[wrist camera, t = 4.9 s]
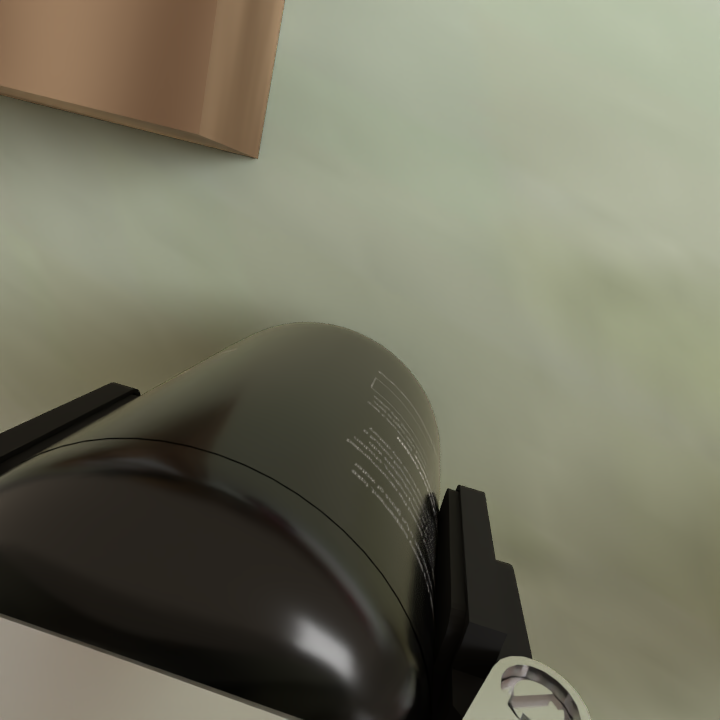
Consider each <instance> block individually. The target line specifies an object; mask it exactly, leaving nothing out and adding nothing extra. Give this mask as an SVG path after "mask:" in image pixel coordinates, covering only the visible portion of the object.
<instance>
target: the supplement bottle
mask: <svg viewBox="0 0 720 720" xmlns="http://www.w3.org/2000/svg"><path fill="white" fill-rule="evenodd" d="M439 498H440V440H439V433H438V427H437V423H436V419H435V415H434V412H433V410H432V407H431V404H430V402H429V400H428V398H427V396H426V394H425V392H424V390H423V388H422V387H421V385H420V384H419V382H418V380H417V379H416V378H415V377H414V375H413V374H412V373H411V371H410V370H409V369H408V368H407V367H406V366H405V365H404V364H403V363H402V361H400V360H399V359H398V358H397V357H396V356H395V355H394V354H393V353H391V352H390V351H389V350H387V349H386V348H385V347H383V346H382V345H380V344H379V343H377V342H375V341H374V340H372V339H370V338H368V337H366V336H364V335H362V334H360V333H358V332H355V331H352V330H350V329H347V328H344V327H340V326H336V325H331V324H325V323H316V322H297V323H289V324H282V325H279V326H275V327H271V328H268V329H265V330H262V331H259V332H257V333H255V334H253V335H251V336H249V337H247V338H245V339H243V340H241V341H239V342H237V343H235V344H233V345H231V346H229V347H227V348H225V349H224V350H222V351H220V352H218V353H216V354H215V355H213V356H211V357H209V358H207V359H206V360H204V361H202V362H200V363H198V364H197V365H195V366H193V367H191V368H189V369H188V370H186V371H184V372H182V373H180V374H179V375H177V376H175V377H173V378H171V379H170V380H168V381H166V382H164V383H162V384H161V385H159V386H157V387H155V388H154V389H152V390H150V391H148V392H146V393H145V394H143V395H141V396H139V397H137V398H136V399H134V400H132V401H130V402H128V403H127V404H125V405H123V406H121V407H119V408H118V409H116V410H114V411H112V412H110V413H109V414H107V415H105V416H103V417H101V418H100V419H98V420H96V421H94V422H92V423H91V424H89V425H87V426H85V427H84V428H82V429H80V430H78V431H76V432H75V433H73V434H71V435H69V436H67V437H66V438H64V439H62V440H60V441H58V442H57V443H55V444H53V445H51V446H50V447H48V448H46V449H44V450H42V451H41V452H39V453H37V454H35V455H33V456H32V457H30V458H28V459H27V460H25V461H23V462H21V463H20V464H18V465H17V466H15V467H14V468H12V469H11V470H9V471H7V472H6V473H4V474H3V475H1V476H0V613H1V614H4V615H7V616H9V617H12V618H15V619H18V620H21V621H24V622H27V623H30V624H33V625H35V626H38V627H41V628H44V629H47V630H50V631H53V632H56V633H58V634H61V635H64V636H67V637H70V638H73V639H76V640H79V641H82V642H84V643H87V644H90V645H93V646H96V647H99V648H102V649H104V650H107V651H110V652H113V653H116V654H119V655H122V656H124V657H127V658H130V659H133V660H136V661H139V662H142V663H145V664H147V665H150V666H153V667H156V668H159V669H162V670H165V671H167V672H170V673H173V674H176V675H179V676H182V677H185V678H187V679H190V680H193V681H196V682H199V683H201V684H204V685H207V686H210V687H213V688H215V689H218V690H221V691H224V692H227V693H230V694H232V695H235V696H238V697H241V698H244V699H246V700H249V701H252V702H255V703H258V704H260V705H263V706H266V707H269V708H272V709H275V710H277V711H280V712H283V713H286V714H289V715H291V716H294V717H297V718H300V719H303V720H431V716H432V698H433V671H434V643H435V614H436V585H437V556H438V527H439Z"/></svg>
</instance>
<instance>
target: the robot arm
mask: <svg viewBox="0 0 720 720" xmlns="http://www.w3.org/2000/svg"><path fill="white" fill-rule="evenodd" d="M139 396H141V395H140V392H139V390H138V389H134V388H131V387H128V386H124V385H121V384H117V383H114V382H113V383H110V384H107V385H105V386H103V387H101V388H99V389H97V390H94V391H92V392H90V393H88V394H86V395H83V396H81V397H79V398H77V399H75V400H73V401H70V402H68V403H66V404H64V405H62V406H59V407H57V408H55V409H53V410H51V411H49V412H46V413H44V414H42V415H40V416H38V417H35V418H33V419H31V420H29V421H27V422H25V423H22V424H20V425H18V426H16V427H14V428H11V429H9V430H7V431H5V432H3V433H1V434H0V476H1V475H3V474H4V473H6V472H7V471H9V470H11V469H12V468H14V467H15V466H17V465H18V464H20V463H21V462H23V461H25V460H27V459H28V458H30V457H32V456H33V455H35V454H37V453H39V452H41V451H42V450H44V449H46V448H48V447H50V446H51V445H53V444H55V443H57V442H58V441H60V440H62V439H64V438H66V437H67V436H69V435H71V434H73V433H75V432H76V431H78V430H80V429H82V428H84V427H85V426H87V425H89V424H91V423H92V422H94V421H96V420H98V419H100V418H101V417H103V416H105V415H107V414H109V413H110V412H112V411H114V410H116V409H118V408H119V407H121V406H123V405H125V404H127V403H128V402H130V401H132V400H134V399H136V398H137V397H139ZM0 720H303V719H300V718H297V717H294V716H291V715H289V714H286V713H283V712H280V711H277V710H275V709H272V708H269V707H266V706H263V705H260V704H258V703H255V702H252V701H249V700H246V699H244V698H241V697H238V696H235V695H232V694H230V693H227V692H224V691H221V690H218V689H215V688H213V687H210V686H207V685H204V684H201V683H199V682H196V681H193V680H190V679H187V678H185V677H182V676H179V675H176V674H173V673H170V672H167V671H165V670H162V669H159V668H156V667H153V666H150V665H147V664H145V663H142V662H139V661H136V660H133V659H130V658H127V657H124V656H122V655H119V654H116V653H113V652H110V651H107V650H104V649H102V648H99V647H96V646H93V645H90V644H87V643H84V642H82V641H79V640H76V639H73V638H70V637H67V636H64V635H61V634H58V633H56V632H53V631H50V630H47V629H44V628H41V627H38V626H35V625H33V624H30V623H27V622H24V621H21V620H18V619H15V618H12V617H9V616H7V615H4V614H1V613H0ZM431 720H591V718H590V715H589V712H588V708H587V707H586V705H585V703H584V702H583V700H582V698H581V697H580V695H579V694H578V692H577V691H576V690H575V689H574V688H573V687H572V686H571V685H570V683H569V682H568V681H567V680H566V679H564V678H563V677H562V676H561V675H559V674H558V673H557V672H556V671H554V670H553V669H551V668H550V667H548V666H546V665H544V664H542V663H541V662H539V661H536V660H533V659H532V655H531V650H530V645H529V641H528V636H527V631H526V626H525V622H524V617H523V612H522V607H521V602H520V598H519V593H518V588H517V583H516V579H515V574H514V570H513V567H512V566H511V565H510V564H508V563H505V562H501V561H498V560H496V559H495V553H494V547H493V541H492V535H491V528H490V522H489V516H488V510H487V503H486V497H485V493H484V492H481V491H478V490H475V489H471V488H468V487H465V486H461V485H458V486H457V489H456V491H455V490H451V489H447V491H446V493H445V496H444V499H443V502H442V505H441V508H440V511H439V527H438V556H437V585H436V614H435V643H434V671H433V698H432V716H431Z"/></svg>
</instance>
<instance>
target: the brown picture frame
mask: <svg viewBox="0 0 720 720" xmlns="http://www.w3.org/2000/svg"><path fill="white" fill-rule="evenodd" d="M284 3H285V0H0V95H4V96H8V97H12V98H16V99H20V100H24V101H28V102H32V103H36V104H40V105H44V106H48V107H52V108H56V109H60V110H64V111H68V112H72V113H76V114H80V115H84V116H88V117H92V118H96V119H100V120H104V121H108V122H112V123H116V124H120V125H124V126H128V127H132V128H136V129H140V130H144V131H148V132H152V133H156V134H160V135H164V136H168V137H172V138H176V139H180V140H184V141H188V142H192V143H196V144H200V145H204V146H208V147H213V148H217V149H221V150H225V151H229V152H233V153H237V154H241V155H245V156H249V157H253V158H257V159H258V154H259V148H260V142H261V137H262V131H263V125H264V119H265V113H266V108H267V102H268V96H269V90H270V84H271V78H272V73H273V67H274V61H275V55H276V49H277V44H278V38H279V32H280V26H281V20H282V14H283V9H284Z"/></svg>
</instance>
